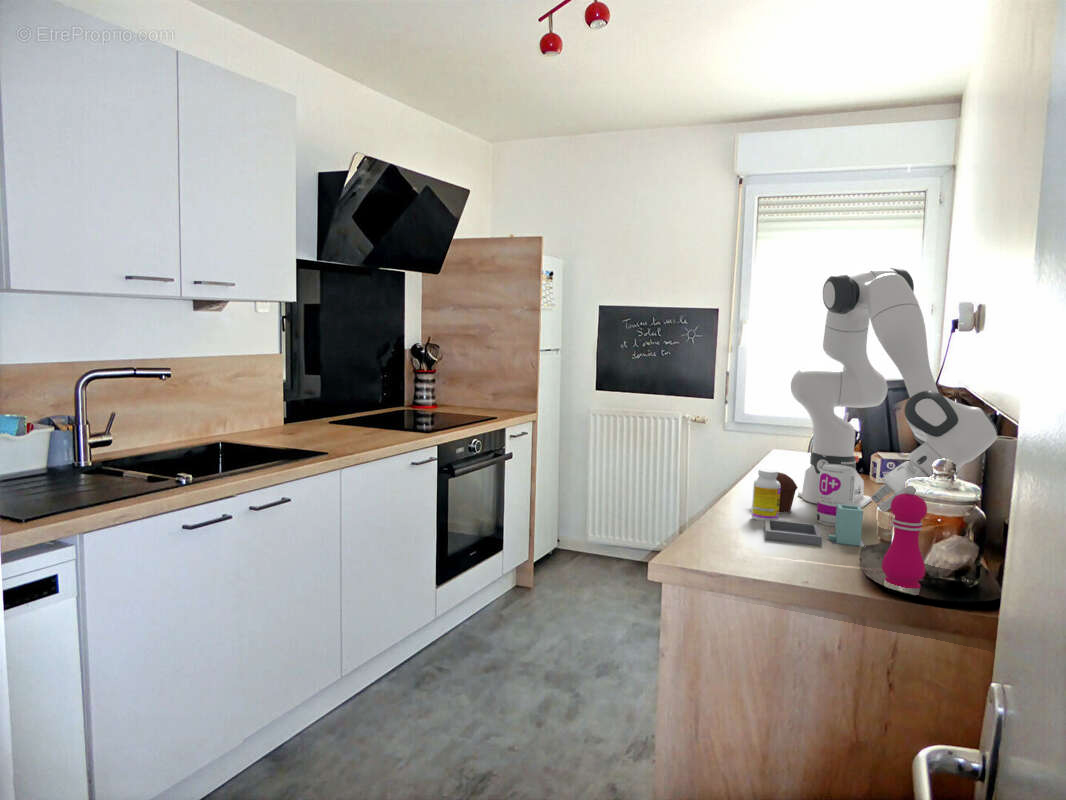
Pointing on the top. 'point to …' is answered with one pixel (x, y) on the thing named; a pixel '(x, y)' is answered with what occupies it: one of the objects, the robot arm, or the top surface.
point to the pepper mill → (905, 541)
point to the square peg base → (849, 544)
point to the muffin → (786, 492)
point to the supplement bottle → (766, 496)
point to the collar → (848, 525)
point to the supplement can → (834, 491)
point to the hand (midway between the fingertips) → (876, 504)
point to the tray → (792, 532)
